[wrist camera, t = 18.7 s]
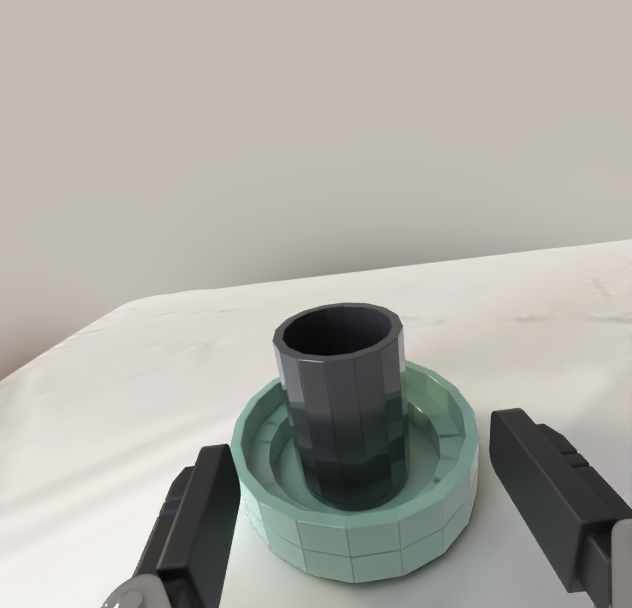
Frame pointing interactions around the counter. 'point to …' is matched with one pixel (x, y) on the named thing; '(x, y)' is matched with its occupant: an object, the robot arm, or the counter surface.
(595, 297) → the counter surface
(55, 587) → the counter surface
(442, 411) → the bowl
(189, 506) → the robot arm
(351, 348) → the cup
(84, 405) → the counter surface
